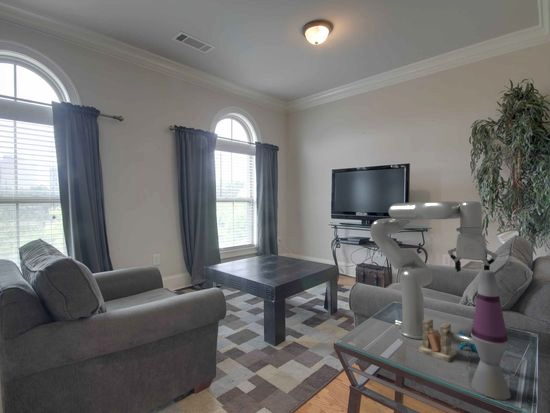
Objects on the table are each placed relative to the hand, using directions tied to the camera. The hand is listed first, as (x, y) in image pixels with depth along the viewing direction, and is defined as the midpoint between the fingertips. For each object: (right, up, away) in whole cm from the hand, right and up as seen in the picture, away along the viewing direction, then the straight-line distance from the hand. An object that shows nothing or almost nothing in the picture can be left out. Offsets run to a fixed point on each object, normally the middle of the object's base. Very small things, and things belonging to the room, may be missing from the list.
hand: (472, 273), depth 119 cm
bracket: (-12, -35, +4) cm, 37 cm away
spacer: (-12, -33, +3) cm, 35 cm away
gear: (+2, -35, +5) cm, 35 cm away
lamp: (-8, -35, -21) cm, 42 cm away
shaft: (-4, -26, -6) cm, 27 cm away
